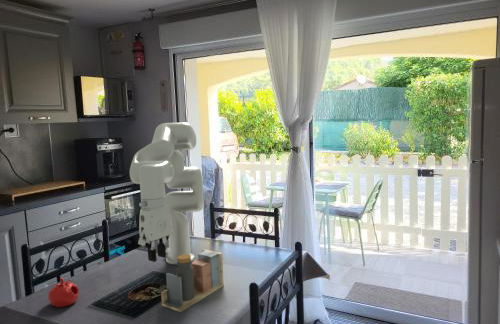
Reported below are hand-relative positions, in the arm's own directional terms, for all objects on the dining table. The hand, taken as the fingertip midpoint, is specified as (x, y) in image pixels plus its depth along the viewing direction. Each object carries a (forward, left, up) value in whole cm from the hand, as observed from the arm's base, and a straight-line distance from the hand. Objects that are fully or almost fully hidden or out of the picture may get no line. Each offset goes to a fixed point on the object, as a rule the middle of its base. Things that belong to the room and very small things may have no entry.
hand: (157, 258), depth 122 cm
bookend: (0, +6, -18) cm, 19 cm away
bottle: (0, +12, -19) cm, 22 cm away
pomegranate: (-37, -12, -20) cm, 43 cm away
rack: (0, +16, -19) cm, 25 cm away
